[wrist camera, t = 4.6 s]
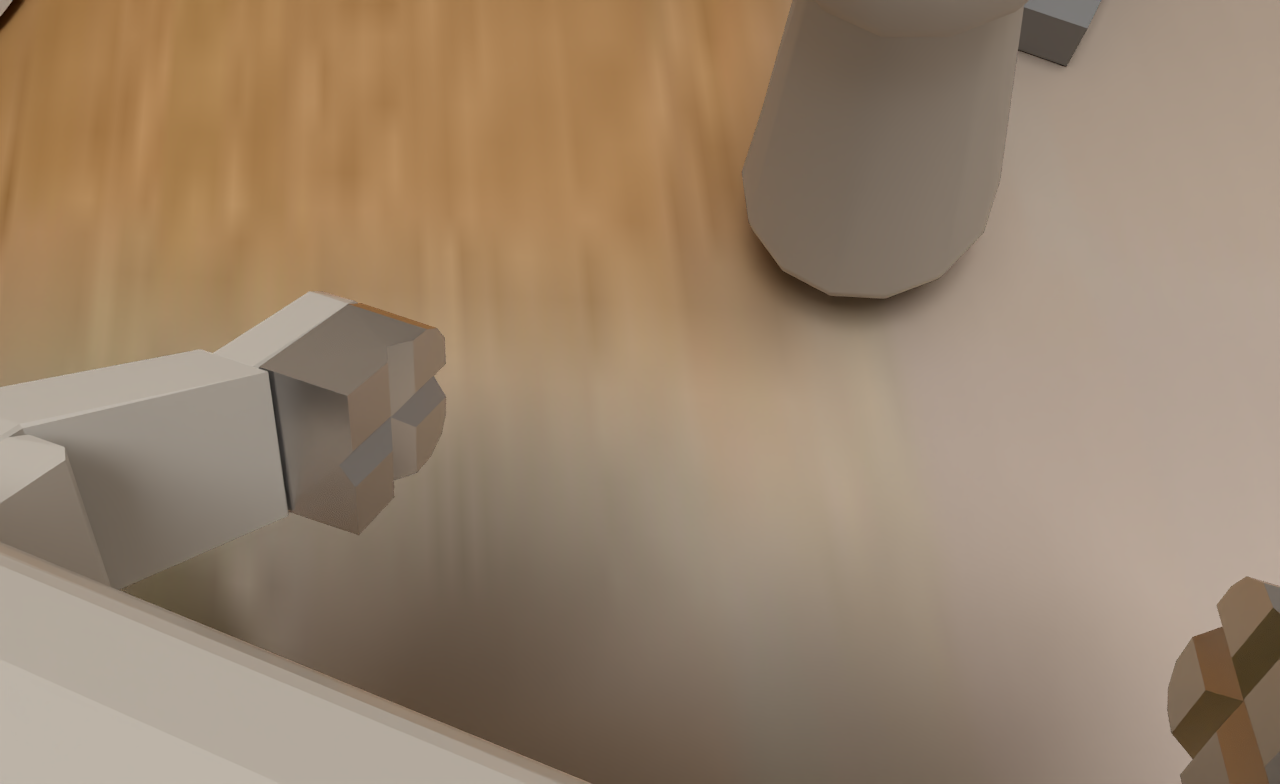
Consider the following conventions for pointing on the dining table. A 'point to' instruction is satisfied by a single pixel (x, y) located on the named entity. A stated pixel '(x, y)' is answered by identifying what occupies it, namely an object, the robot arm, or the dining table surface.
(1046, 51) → the panel
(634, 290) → the dining table surface
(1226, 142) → the dining table surface
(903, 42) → the salt shaker
